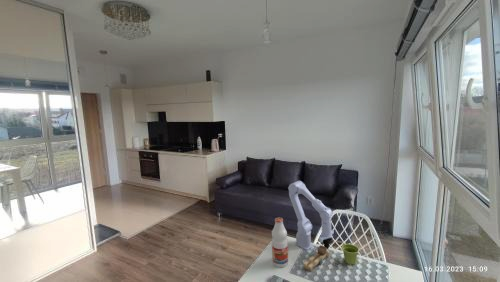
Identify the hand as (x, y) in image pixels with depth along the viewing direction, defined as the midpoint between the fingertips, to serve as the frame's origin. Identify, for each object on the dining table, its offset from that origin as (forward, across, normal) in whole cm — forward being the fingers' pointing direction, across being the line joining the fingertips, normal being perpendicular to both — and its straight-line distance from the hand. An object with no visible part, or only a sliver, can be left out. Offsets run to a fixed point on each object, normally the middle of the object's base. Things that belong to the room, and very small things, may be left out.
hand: (326, 248), depth 146 cm
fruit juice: (+4, -27, +15) cm, 32 cm away
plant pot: (+4, +2, -14) cm, 15 cm away
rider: (+2, -5, 0) cm, 6 cm away
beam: (+4, -12, 0) cm, 12 cm away
